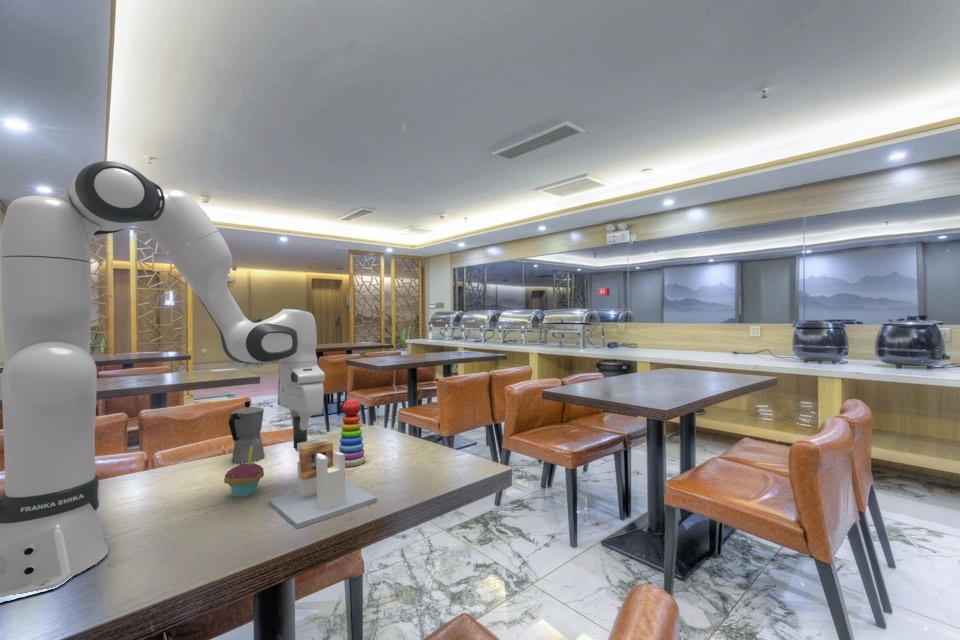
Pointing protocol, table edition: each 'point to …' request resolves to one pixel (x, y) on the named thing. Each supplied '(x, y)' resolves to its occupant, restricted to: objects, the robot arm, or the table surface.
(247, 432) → the coffeepot
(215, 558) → the table surface
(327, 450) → the collar
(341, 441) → the stacking toy
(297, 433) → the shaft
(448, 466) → the table surface
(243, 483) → the cupcake
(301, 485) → the stand
